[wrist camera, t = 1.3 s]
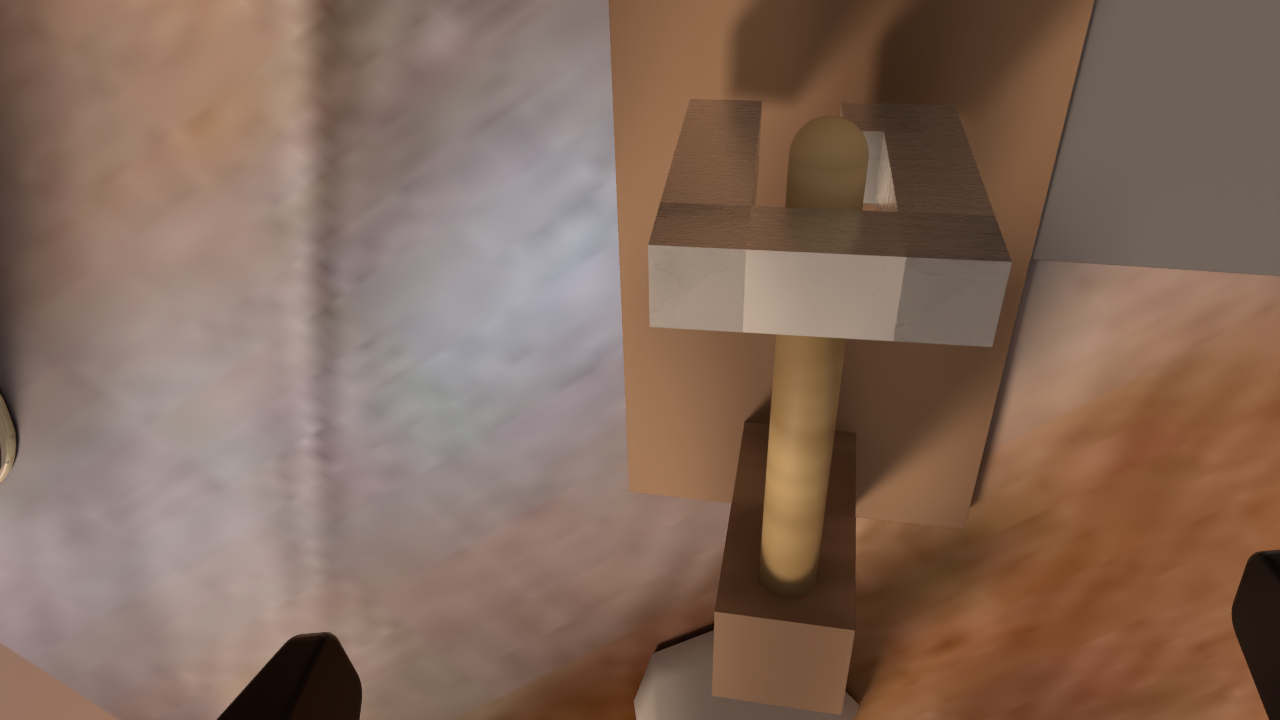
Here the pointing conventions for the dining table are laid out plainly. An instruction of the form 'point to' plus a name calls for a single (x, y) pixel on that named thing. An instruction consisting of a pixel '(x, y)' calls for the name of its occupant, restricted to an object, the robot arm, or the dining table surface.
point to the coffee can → (6, 441)
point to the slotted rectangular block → (830, 236)
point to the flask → (706, 690)
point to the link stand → (821, 366)
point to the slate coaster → (1171, 140)
